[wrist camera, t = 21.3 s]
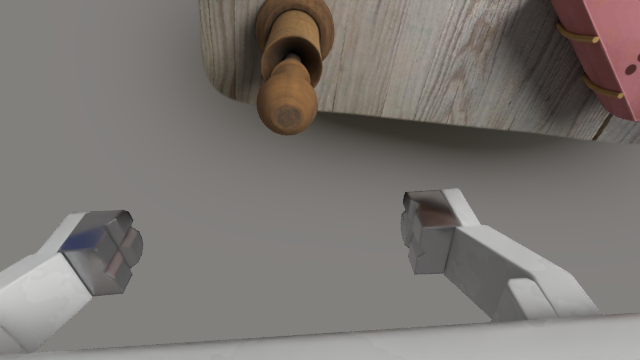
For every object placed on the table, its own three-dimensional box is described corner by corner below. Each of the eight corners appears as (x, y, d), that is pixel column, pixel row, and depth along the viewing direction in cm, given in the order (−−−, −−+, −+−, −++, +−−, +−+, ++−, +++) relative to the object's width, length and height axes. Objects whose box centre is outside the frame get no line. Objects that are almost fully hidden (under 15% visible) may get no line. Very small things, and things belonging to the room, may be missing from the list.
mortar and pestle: (330, -18, 29) (355, 37, 14) (335, 61, 33) (358, 168, 18) (251, -10, 29) (195, 53, 14) (265, 68, 33) (232, 179, 18)
